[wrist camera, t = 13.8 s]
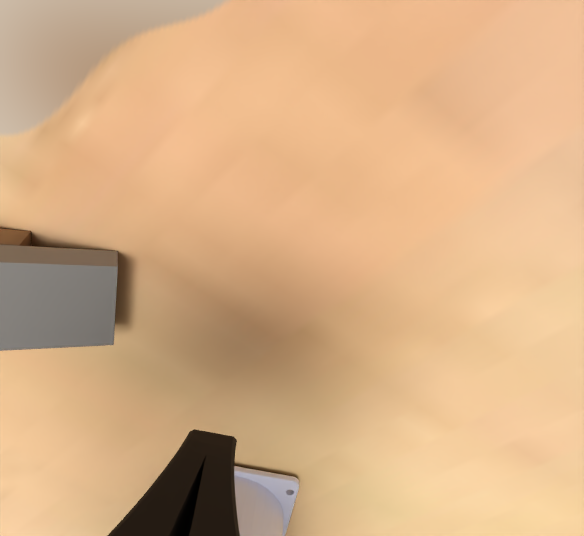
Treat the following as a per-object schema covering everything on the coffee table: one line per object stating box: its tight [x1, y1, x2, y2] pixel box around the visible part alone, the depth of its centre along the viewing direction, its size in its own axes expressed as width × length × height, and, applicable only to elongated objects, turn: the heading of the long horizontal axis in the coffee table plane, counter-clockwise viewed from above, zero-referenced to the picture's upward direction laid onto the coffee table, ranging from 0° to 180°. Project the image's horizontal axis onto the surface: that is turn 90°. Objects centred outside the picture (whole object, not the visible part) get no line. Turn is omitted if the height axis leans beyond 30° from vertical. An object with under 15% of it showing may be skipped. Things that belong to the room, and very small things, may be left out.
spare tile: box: [0, 245, 118, 351], centre depth 17 cm, size 4×2×8 cm
